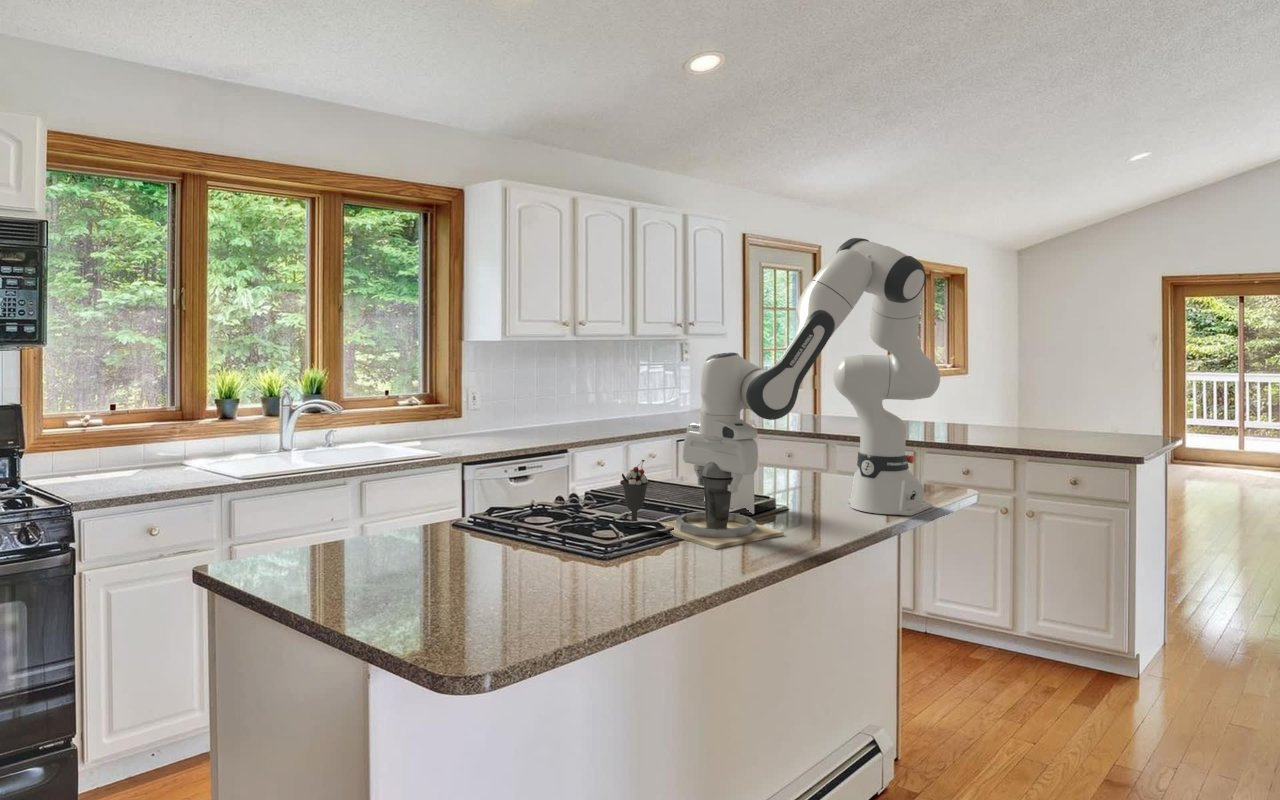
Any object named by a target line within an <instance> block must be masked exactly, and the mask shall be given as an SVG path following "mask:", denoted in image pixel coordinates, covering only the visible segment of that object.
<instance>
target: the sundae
mask: <svg viewBox="0 0 1280 800" xmlns="http://www.w3.org/2000/svg"><path fill="white" fill-rule="evenodd" d="M644 462H645V459H641V461H640V463H639V464H638V465H637V466H634V467H633V469H629V471H628V472H627V473H626V475H625V474H624V473H622V474H621V477H622V480H620V482H619V483H620V485H622V487H623V492H624V494H623V495H624V502H625V503H624V504H625V506H626V507H627V509H628V510H630V511H631V516H630V517H631V518H630V521H638V511H639V510H641V509H642V507H643V506H644V504H645V499H646V491H647V487H648V485H650V482H649V481H648V477H647V476H646V475H645V470H644V469H643V463H644ZM640 465H641V466H640ZM639 466H640V467H641V468H640V469H639ZM638 522H639V521H638Z"/></svg>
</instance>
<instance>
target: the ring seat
mask: <svg viewBox="0 0 1280 800" xmlns="http://www.w3.org/2000/svg"><path fill="white" fill-rule="evenodd" d="M661 523H662V524H664V525H667V526H672V527H674V530H672V531H670V532H671V533H672V535H673V536H672V535H671V536H672V537H675V538H679V539H682V540H685V541H688V542H691V543H694V544H696V545H700V546H704V547H706V548H710V549H714V550H718V549H723V548H728V547H731V546H738V545H741V544H748V543H752V542H753V543H754V542H757V541H761V540H762V541H763V540H767V539H770V538H776V537H782V536H784V532H785V531H783V530H779V529H776V528H772V527H769V526H765V525H761V524H757V521H756V520H755V519H753V518H752V517H750V516H747V515H744V514H740V513H729V517H728V523H727V528H721V529H715V528H706V526H707V525H706V516H705V511H693V512H689V513H688V512H686V513H682V514H681V515H678V516H677V517H676V519H675V520H670V521H664V522H661Z"/></svg>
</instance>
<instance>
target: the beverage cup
mask: <svg viewBox="0 0 1280 800" xmlns="http://www.w3.org/2000/svg"><path fill="white" fill-rule="evenodd" d="M702 477H703V485H704V486H703V492H704V494H703V495H704V497H705V504H704V512H705V516H706V525H707V526H706V528H715V529H721V528H727V523H728V517H729V509H730V500H731V493H730V492H728V484H731V482H732V480H733V478H732V477H731V472H727V471H722V470H721V469H720V468H719V467H718V465H717V464H716V463H714V462H709V463H707V464H706V466H705V468H704V469H703V475H702ZM704 497H703V498H704Z"/></svg>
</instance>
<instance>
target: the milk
mask: <svg viewBox="0 0 1280 800" xmlns="http://www.w3.org/2000/svg"><path fill="white" fill-rule="evenodd" d="M703 499H704V500H703V502H704V501H705V497H703ZM731 508H746V509H747V510H749V512H751V513H752V514H751V515H754V514H755V473H754V474H750V475H743V478H742V480H741V481H740V483H739V485H738V492H737V493H731V500H730V509H731Z"/></svg>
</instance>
